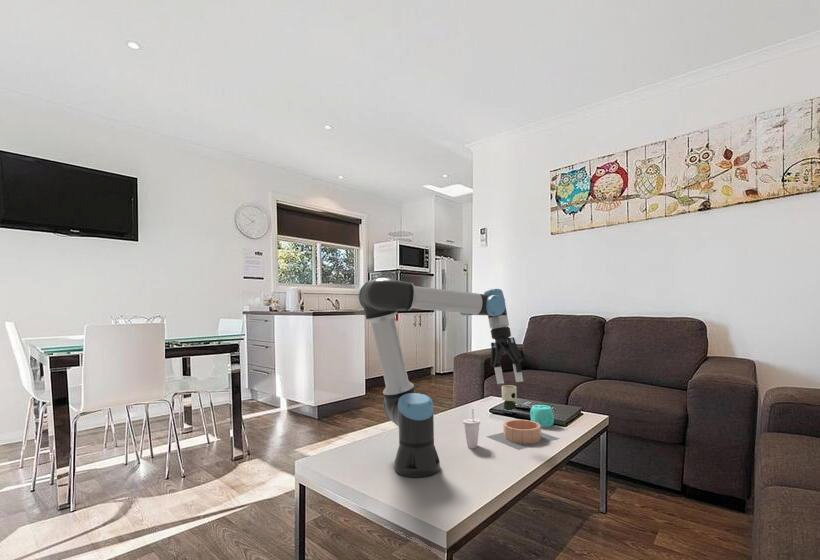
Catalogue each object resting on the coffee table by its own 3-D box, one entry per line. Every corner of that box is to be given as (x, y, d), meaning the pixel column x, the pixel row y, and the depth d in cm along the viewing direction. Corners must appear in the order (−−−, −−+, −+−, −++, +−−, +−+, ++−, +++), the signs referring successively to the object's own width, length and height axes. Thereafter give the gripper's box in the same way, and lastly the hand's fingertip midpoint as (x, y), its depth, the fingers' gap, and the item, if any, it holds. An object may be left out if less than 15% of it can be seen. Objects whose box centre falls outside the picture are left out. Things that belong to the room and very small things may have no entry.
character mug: (512, 417, 195) (511, 389, 195) (498, 415, 199) (497, 387, 200) (521, 412, 203) (520, 385, 204) (507, 410, 208) (506, 383, 208)
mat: (518, 451, 151) (518, 449, 151) (486, 437, 166) (486, 436, 166) (559, 439, 162) (559, 438, 162) (525, 428, 178) (525, 427, 178)
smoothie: (480, 450, 153) (479, 411, 154) (463, 449, 154) (462, 411, 155) (481, 444, 159) (480, 407, 160) (464, 443, 160) (463, 406, 161)
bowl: (522, 446, 155) (522, 432, 155) (496, 436, 167) (496, 423, 167) (548, 439, 162) (548, 426, 162) (522, 429, 174) (521, 417, 174)
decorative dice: (530, 423, 185) (529, 404, 186) (548, 422, 185) (547, 404, 185) (535, 428, 177) (534, 409, 178) (554, 428, 177) (553, 409, 178)
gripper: (525, 321, 154) (537, 379, 148) (492, 332, 176) (501, 383, 171) (508, 322, 151) (519, 381, 146) (476, 333, 174) (485, 385, 168)
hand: (509, 382), depth 158 cm, fingers open, 13 cm apart
